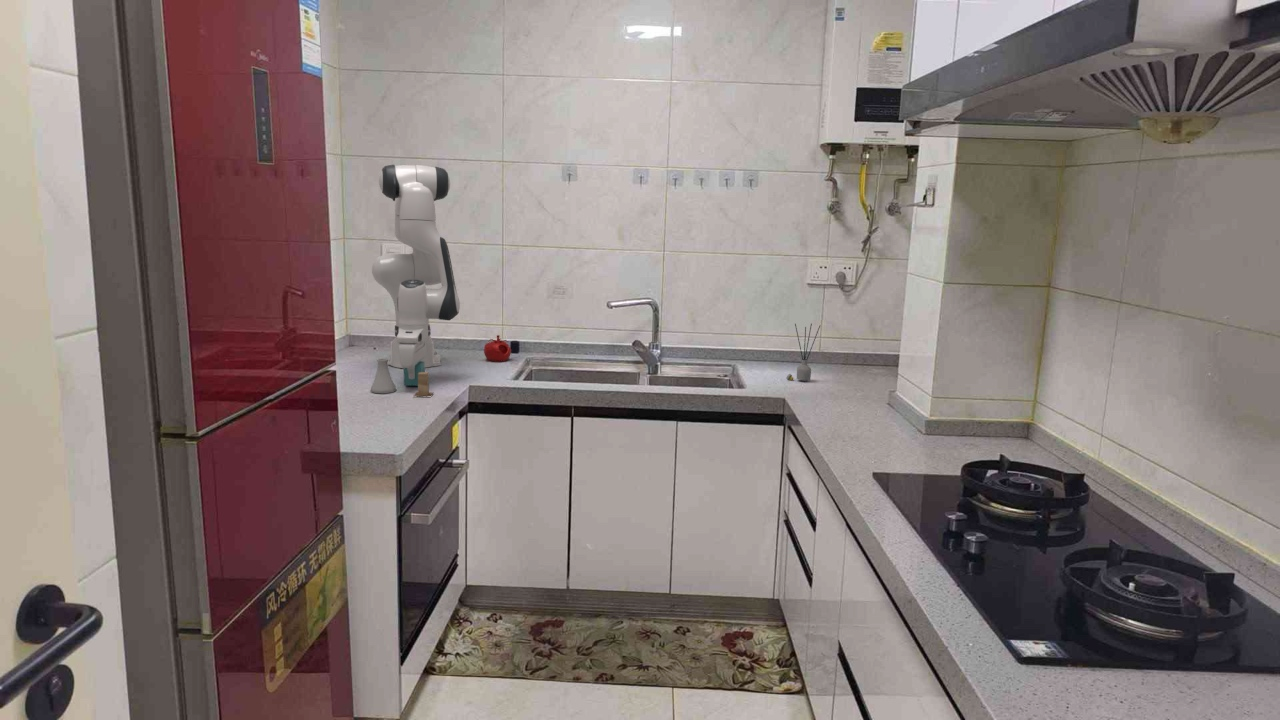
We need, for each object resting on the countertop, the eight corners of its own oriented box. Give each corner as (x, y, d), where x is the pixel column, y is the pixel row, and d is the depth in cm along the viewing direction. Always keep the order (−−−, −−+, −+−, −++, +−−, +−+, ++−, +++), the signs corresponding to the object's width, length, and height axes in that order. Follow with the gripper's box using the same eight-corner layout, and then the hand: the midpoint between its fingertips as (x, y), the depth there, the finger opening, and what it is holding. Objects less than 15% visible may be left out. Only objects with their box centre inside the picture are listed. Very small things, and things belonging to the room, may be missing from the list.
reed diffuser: (816, 380, 285) (820, 322, 281) (817, 384, 278) (821, 325, 275) (786, 378, 287) (789, 321, 283) (786, 382, 280) (789, 323, 276)
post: (417, 393, 251) (416, 371, 250) (433, 393, 251) (433, 371, 250) (413, 397, 246) (412, 374, 245) (430, 397, 246) (429, 374, 245)
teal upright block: (408, 381, 264) (407, 361, 263) (424, 381, 264) (424, 361, 263) (404, 385, 259) (403, 364, 258) (421, 385, 259) (420, 364, 258)
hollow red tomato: (479, 361, 303) (479, 336, 301) (490, 357, 312) (490, 332, 311) (505, 363, 301) (504, 338, 299) (515, 358, 310) (515, 334, 308)
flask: (365, 392, 251) (364, 359, 249) (383, 387, 257) (382, 356, 256) (383, 395, 248) (382, 362, 246) (401, 390, 254) (400, 358, 252)
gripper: (411, 327, 268) (412, 369, 271) (395, 338, 248) (396, 383, 251) (430, 327, 269) (431, 369, 271) (416, 338, 249) (417, 383, 251)
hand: (414, 376), depth 261 cm, fingers closed on teal upright block, 5 cm apart
